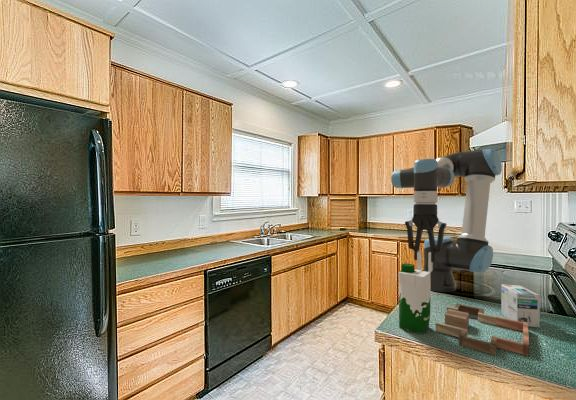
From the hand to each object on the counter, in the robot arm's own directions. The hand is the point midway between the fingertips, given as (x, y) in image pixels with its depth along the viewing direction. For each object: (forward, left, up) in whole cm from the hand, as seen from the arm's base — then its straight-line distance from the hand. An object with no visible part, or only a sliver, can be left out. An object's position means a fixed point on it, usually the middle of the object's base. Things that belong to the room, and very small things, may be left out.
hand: (424, 270), depth 102 cm
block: (0, +10, -17) cm, 20 cm away
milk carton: (+11, 0, -17) cm, 20 cm away
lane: (0, +16, -17) cm, 23 cm away
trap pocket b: (+12, +17, -17) cm, 26 cm away
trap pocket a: (-12, +12, -17) cm, 24 cm away
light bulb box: (-18, +26, -17) cm, 36 cm away
